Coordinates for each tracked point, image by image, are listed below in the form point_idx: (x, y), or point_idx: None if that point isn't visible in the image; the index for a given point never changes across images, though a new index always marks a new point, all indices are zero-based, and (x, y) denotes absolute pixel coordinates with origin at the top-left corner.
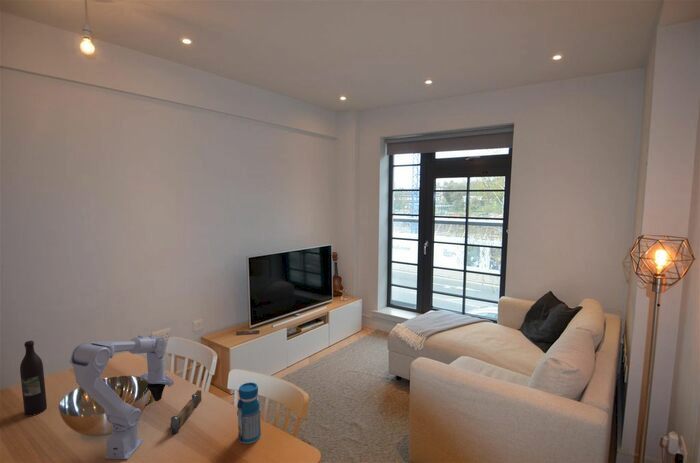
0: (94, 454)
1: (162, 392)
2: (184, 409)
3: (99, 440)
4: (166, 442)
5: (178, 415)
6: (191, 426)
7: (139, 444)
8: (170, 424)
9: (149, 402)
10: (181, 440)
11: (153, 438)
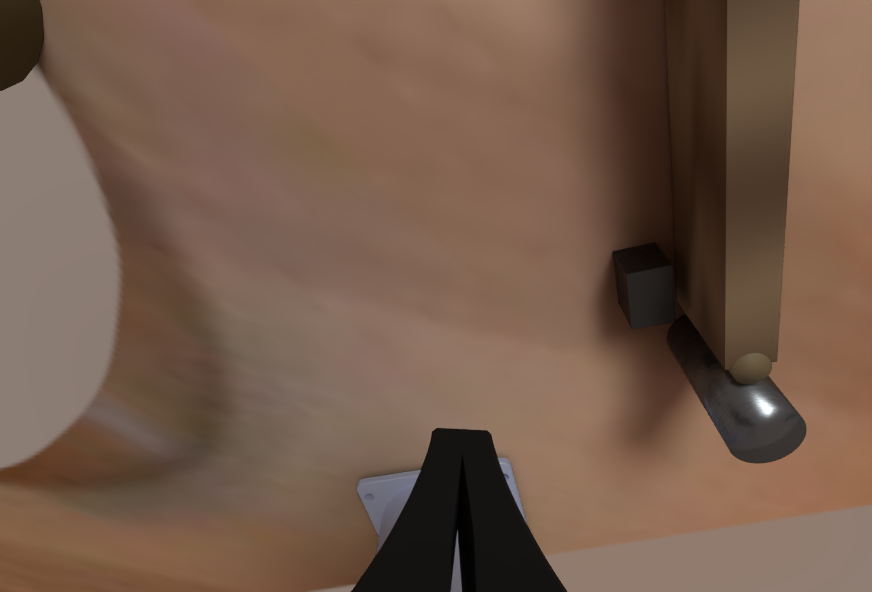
0: (316, 575)
1: (517, 510)
2: (765, 221)
3: (214, 505)
4: (690, 429)
5: (746, 335)
6: (816, 228)
7: (519, 499)
8: (629, 322)
9: (28, 21)
10: (804, 389)
11: (558, 420)
